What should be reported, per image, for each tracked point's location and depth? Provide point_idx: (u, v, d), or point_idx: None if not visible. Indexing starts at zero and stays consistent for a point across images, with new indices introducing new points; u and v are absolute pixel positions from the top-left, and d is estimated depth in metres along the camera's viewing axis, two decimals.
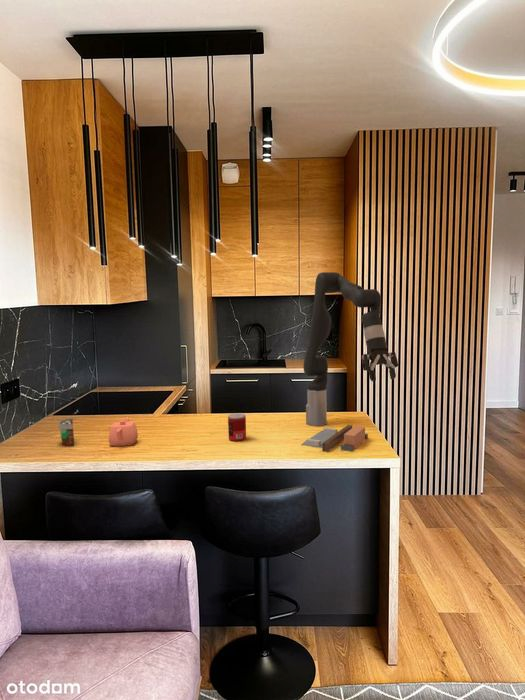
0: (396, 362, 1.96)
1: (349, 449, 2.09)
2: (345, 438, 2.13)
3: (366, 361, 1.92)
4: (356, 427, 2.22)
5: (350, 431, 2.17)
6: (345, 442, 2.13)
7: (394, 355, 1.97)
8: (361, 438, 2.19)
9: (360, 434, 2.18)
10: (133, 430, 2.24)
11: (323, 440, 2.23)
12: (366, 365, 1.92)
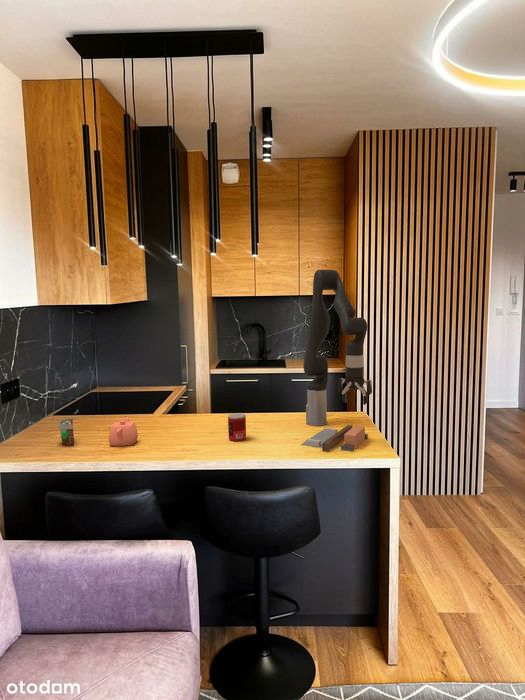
0: (368, 391, 2.11)
1: (349, 449, 2.09)
2: (345, 438, 2.13)
3: (339, 385, 2.18)
4: (356, 427, 2.22)
5: (350, 431, 2.17)
6: (345, 442, 2.13)
7: (368, 384, 2.11)
8: (361, 438, 2.19)
9: (360, 434, 2.18)
10: (133, 430, 2.24)
11: (323, 440, 2.23)
12: (338, 389, 2.18)
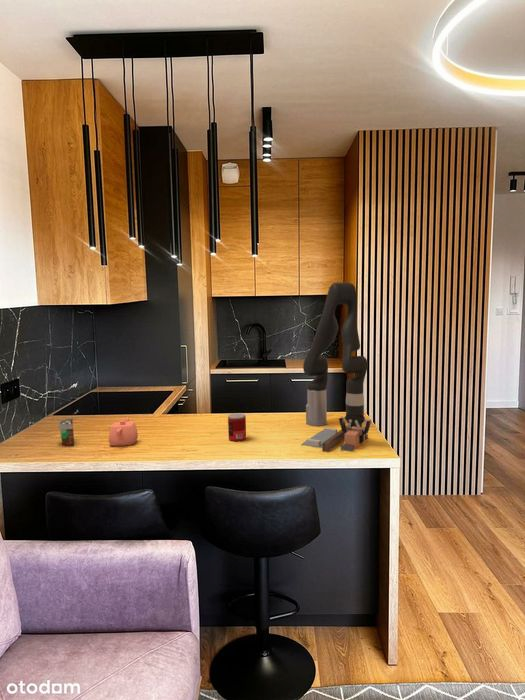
0: (365, 430, 2.14)
1: (349, 449, 2.09)
2: (346, 438, 2.13)
3: (341, 424, 2.19)
4: (356, 427, 2.22)
5: (350, 431, 2.17)
6: (346, 442, 2.13)
7: (367, 424, 2.13)
8: None
9: None
10: (133, 430, 2.24)
11: (323, 440, 2.23)
12: (342, 428, 2.19)
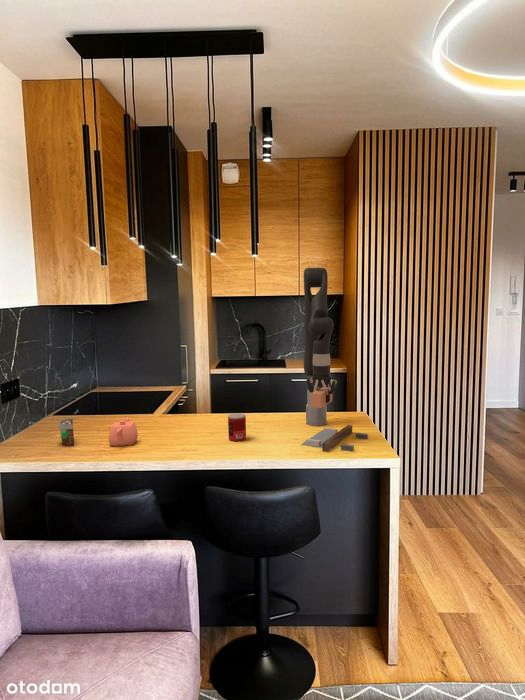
0: (331, 390, 2.20)
1: (349, 449, 2.09)
2: (312, 397, 2.18)
3: (308, 385, 2.25)
4: None
5: (317, 391, 2.22)
6: (312, 401, 2.18)
7: (333, 384, 2.19)
8: None
9: None
10: (133, 430, 2.24)
11: (323, 440, 2.23)
12: (309, 389, 2.25)
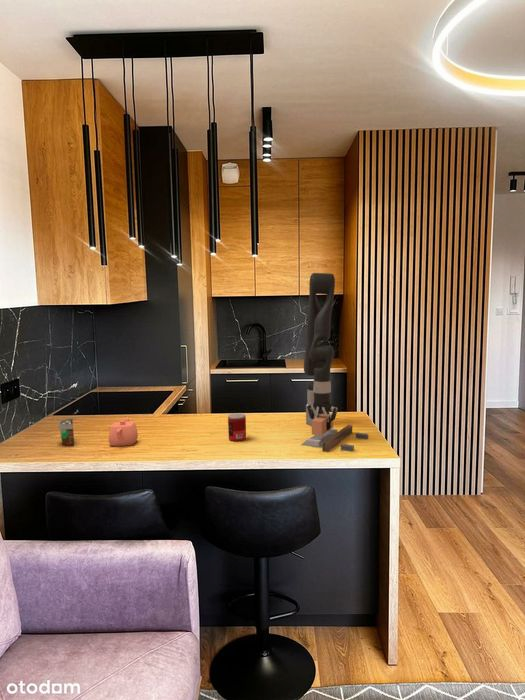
0: (332, 417, 2.21)
1: (349, 449, 2.09)
2: (313, 424, 2.19)
3: (309, 412, 2.26)
4: None
5: (318, 418, 2.23)
6: (313, 428, 2.19)
7: (333, 411, 2.20)
8: None
9: None
10: (133, 430, 2.24)
11: (323, 440, 2.23)
12: (310, 415, 2.26)
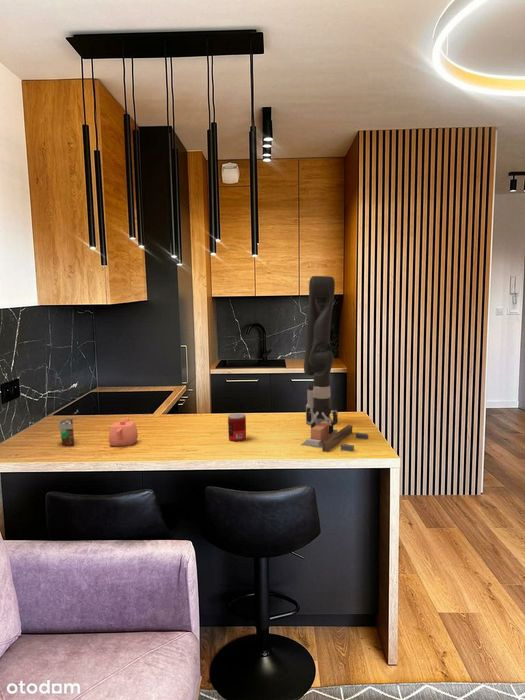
0: (334, 421, 2.21)
1: (349, 449, 2.09)
2: (312, 432, 2.20)
3: (307, 415, 2.27)
4: (324, 422, 2.29)
5: (317, 426, 2.24)
6: (312, 436, 2.20)
7: (334, 415, 2.20)
8: (328, 433, 2.26)
9: (327, 428, 2.25)
10: (133, 430, 2.24)
11: None
12: (307, 418, 2.27)
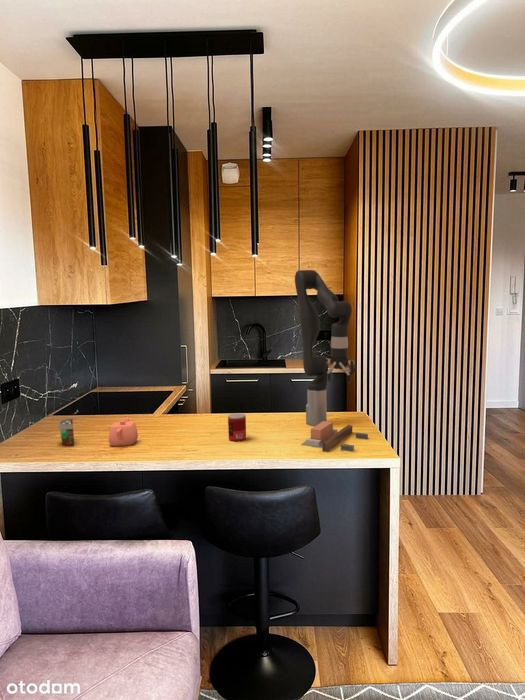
0: (352, 370, 2.25)
1: (349, 449, 2.09)
2: (312, 432, 2.20)
3: (324, 365, 2.31)
4: (324, 422, 2.29)
5: (317, 426, 2.24)
6: (312, 436, 2.20)
7: (351, 364, 2.25)
8: (328, 433, 2.26)
9: (327, 428, 2.25)
10: (133, 430, 2.24)
11: None
12: (324, 368, 2.32)
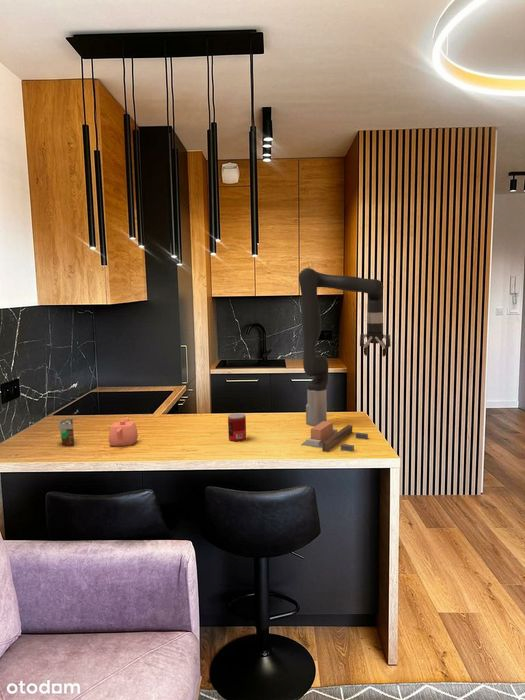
0: (387, 344, 2.40)
1: (349, 449, 2.09)
2: (312, 432, 2.20)
3: (361, 340, 2.46)
4: (324, 422, 2.29)
5: (317, 426, 2.24)
6: (312, 436, 2.20)
7: (387, 338, 2.39)
8: (328, 433, 2.26)
9: (327, 428, 2.25)
10: (133, 430, 2.24)
11: None
12: (360, 343, 2.46)
